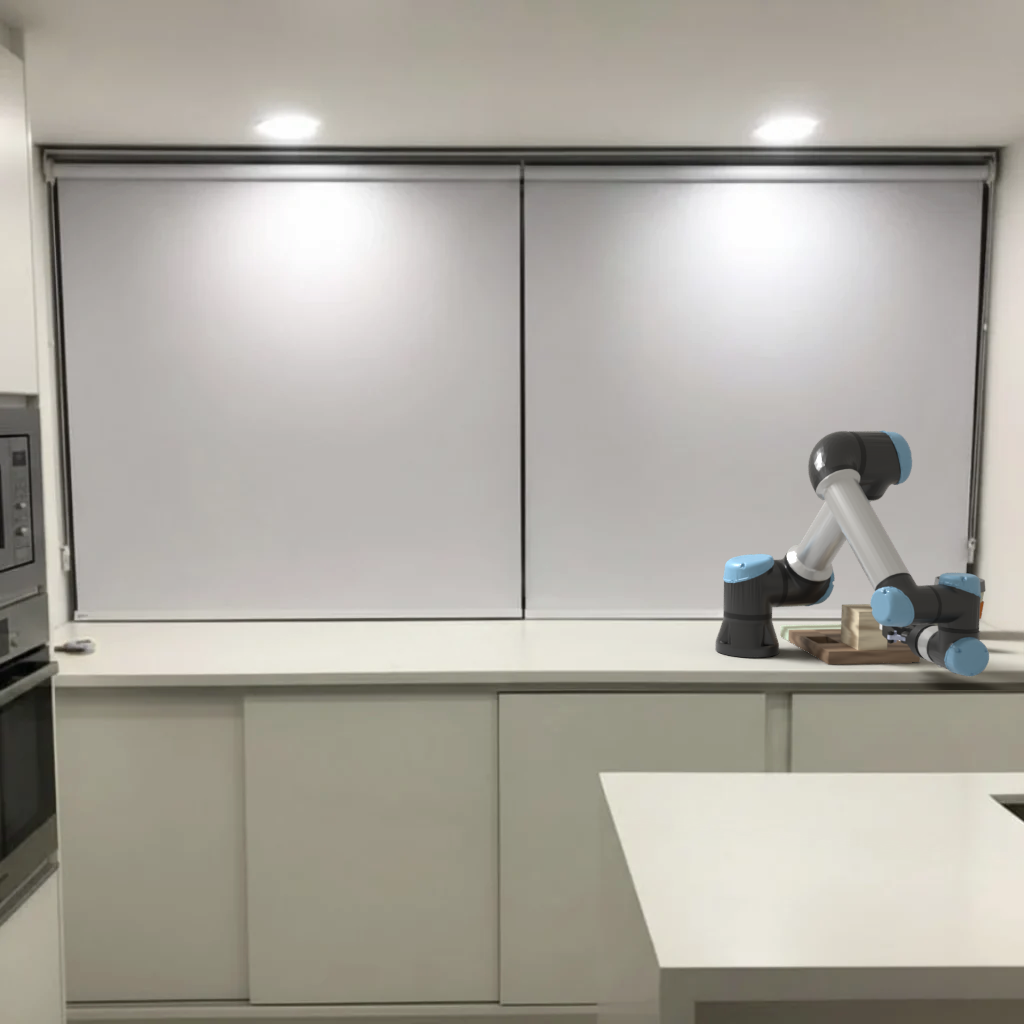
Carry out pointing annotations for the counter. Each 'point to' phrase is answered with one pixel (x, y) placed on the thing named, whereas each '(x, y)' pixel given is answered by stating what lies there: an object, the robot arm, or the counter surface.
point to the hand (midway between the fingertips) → (882, 623)
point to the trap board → (842, 646)
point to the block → (861, 628)
